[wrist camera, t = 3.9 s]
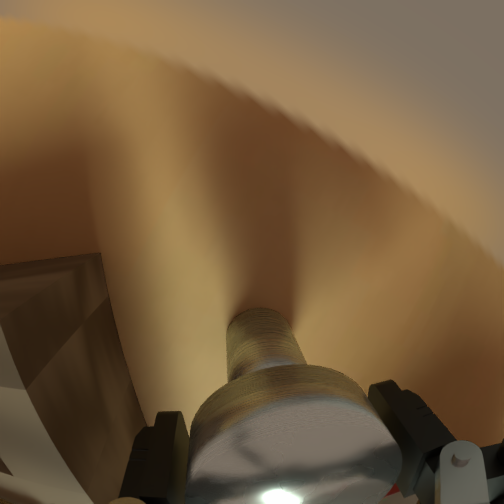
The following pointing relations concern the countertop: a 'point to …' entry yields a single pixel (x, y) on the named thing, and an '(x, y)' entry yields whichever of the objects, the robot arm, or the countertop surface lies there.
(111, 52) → the countertop surface
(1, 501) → the plate
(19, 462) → the block
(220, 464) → the reflector light bulb
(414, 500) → the citrus juicer
